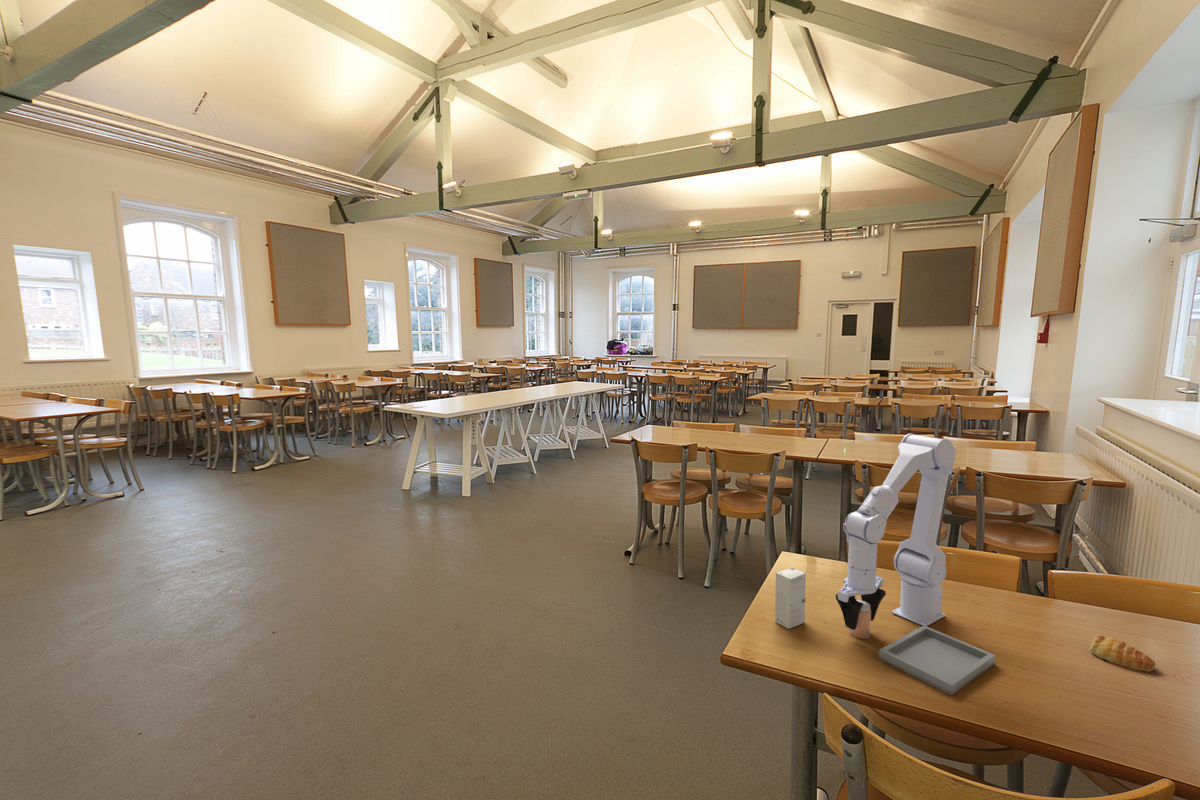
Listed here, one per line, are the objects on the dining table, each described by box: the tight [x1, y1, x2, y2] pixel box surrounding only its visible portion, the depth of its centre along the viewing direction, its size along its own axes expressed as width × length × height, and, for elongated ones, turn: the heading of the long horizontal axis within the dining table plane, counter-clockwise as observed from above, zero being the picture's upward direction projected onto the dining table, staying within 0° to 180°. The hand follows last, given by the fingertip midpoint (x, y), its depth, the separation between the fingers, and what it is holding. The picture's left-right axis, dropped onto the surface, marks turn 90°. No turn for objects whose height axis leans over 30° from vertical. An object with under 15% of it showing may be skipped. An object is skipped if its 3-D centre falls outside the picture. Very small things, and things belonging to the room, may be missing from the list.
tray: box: [878, 625, 996, 696], centre depth 109 cm, size 18×14×2 cm
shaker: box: [848, 599, 872, 639], centre depth 120 cm, size 4×4×7 cm
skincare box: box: [774, 567, 806, 629], centre depth 125 cm, size 6×4×12 cm
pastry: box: [1089, 633, 1156, 673], centre depth 109 cm, size 9×7×4 cm
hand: (859, 623), depth 120 cm, fingers open, 6 cm apart
